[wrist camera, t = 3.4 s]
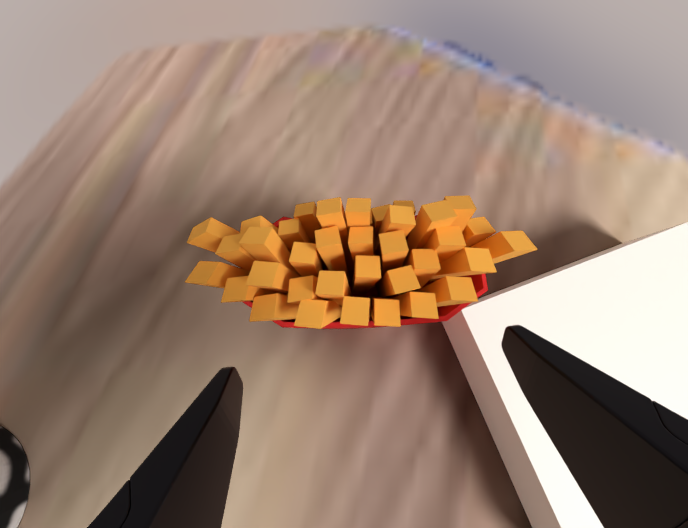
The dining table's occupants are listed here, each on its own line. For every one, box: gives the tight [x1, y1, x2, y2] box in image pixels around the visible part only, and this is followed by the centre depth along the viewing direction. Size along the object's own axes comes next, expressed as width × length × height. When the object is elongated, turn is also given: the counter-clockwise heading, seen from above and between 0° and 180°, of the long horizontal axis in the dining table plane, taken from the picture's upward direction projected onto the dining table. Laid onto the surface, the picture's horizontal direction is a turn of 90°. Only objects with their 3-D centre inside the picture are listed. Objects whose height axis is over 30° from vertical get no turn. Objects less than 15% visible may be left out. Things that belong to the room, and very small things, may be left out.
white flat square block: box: [442, 222, 688, 528], centre depth 16 cm, size 14×14×4 cm
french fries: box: [185, 196, 538, 329], centre depth 13 cm, size 9×4×13 cm, turn 92°
